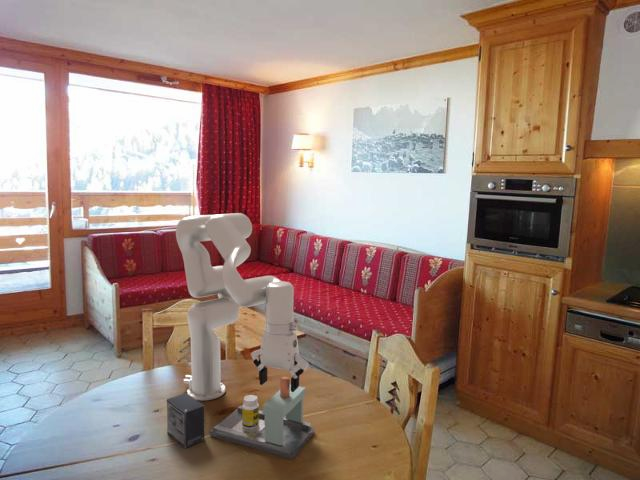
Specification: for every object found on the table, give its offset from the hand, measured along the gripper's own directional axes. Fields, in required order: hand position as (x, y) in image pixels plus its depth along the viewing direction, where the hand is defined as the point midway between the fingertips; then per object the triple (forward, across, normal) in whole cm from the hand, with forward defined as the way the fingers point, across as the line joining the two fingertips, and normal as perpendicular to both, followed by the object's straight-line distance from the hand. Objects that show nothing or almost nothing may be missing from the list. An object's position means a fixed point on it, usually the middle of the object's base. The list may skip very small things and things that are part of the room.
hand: (278, 386), depth 128 cm
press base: (+16, +5, 0) cm, 16 cm away
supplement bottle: (+14, +9, 0) cm, 17 cm away
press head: (+13, -2, 0) cm, 13 cm away
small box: (+16, +24, +10) cm, 31 cm away
